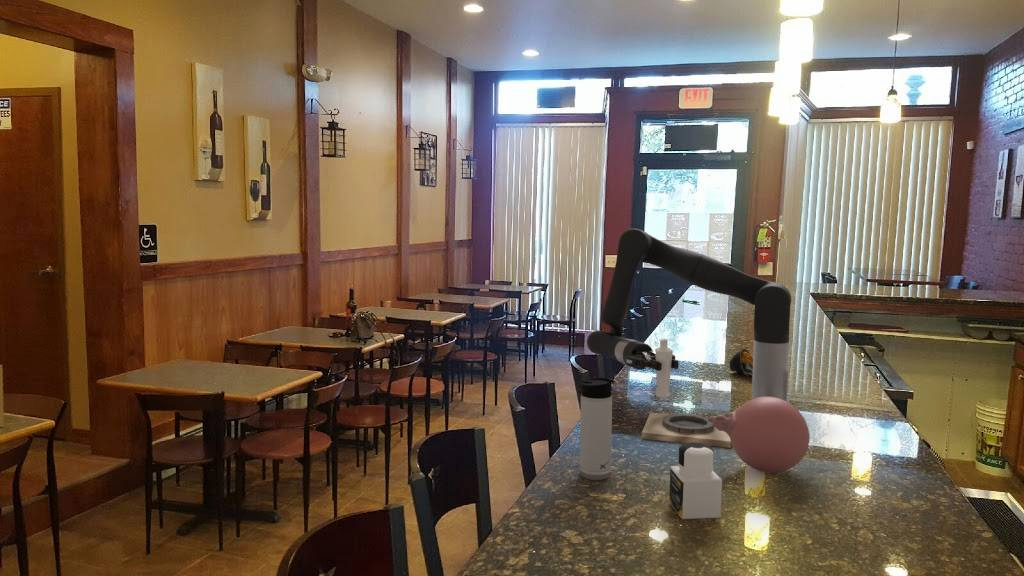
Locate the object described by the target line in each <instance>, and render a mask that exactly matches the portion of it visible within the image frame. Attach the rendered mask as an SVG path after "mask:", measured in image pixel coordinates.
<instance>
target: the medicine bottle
mask: <svg viewBox="0 0 1024 576" xmlns="http://www.w3.org/2000/svg"><path fill="white" fill-rule="evenodd" d="M714 458H715V450H714V449H713V448H712V446H709V445H705V444H702V443H696V442H691V443H682V444H681V445H680V446H679V448H678V463H677V465H671V466H670V467H669V469H670V470H669V471H670V472H669V473H670V474H669V502H668V503H669V504H670V505H671V507H672V508H673V509H674V510H675V512H676V513H677V514H678V517H680V519H681V520H698V519H699V520H700V519H703V520H704V519H720V518H721V517H722V516H721V515H722V492H723V491H722V490H723V489H722V488H723V487H722V486H723V480H722V478H721V477H720V476H719V475H718V474H717V473H716V472H715V471H714V465H715V464H714V463H715V459H714Z"/></svg>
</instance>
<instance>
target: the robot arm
mask: <svg viewBox="0 0 1024 576" xmlns="http://www.w3.org/2000/svg"><path fill="white" fill-rule="evenodd" d="M616 254H617V255H616V260H615V264H614V265H615V266H614V271H613V273H612V278H611V279H612V280H611V282H610V286H609V289H608V292H607V296H606V299H605V302H604V305H603V308H602V311H601V314H600V321H601V322H602V323H603V324H605V325H607V326H609V332H608V331H603V330H594V331H592V332H591V333H590V334H589V335H588V336H587V339H586V345H587V348H588V350H589V351H590V352H591V353H593V354H596V355H600V356H603V357H607V358H610V359H612V360H615V361H616V362H620V363H621V364H623V365H625V366H628V367H630V368H632V369H636V370H638V371H640V370H641V371H643V370H646V369H647V370H651V369H652V370H655V371H656V370H657V371H661V365H662V364H661V362H658V361H656V358H655V350H653V349H652V347H651V345H649V344H647V343H644V342H643V341H638V340H636V339H631V338H626V337H624V336H623V334H624V333H623V331H624V322H625V318H626V315H627V312H628V308H629V305H630V300H631V296H632V295H631V294H632V288H633V283H634V279H635V275H636V272H637V268H638V267H639V265H640V262H642V263H646V264H650V265H652V266H656V267H659V268H661V269H663V270H665V271H667V272H668V273H670V274H671V275H673V276H675V277H676V278H679V279H680V280H682V281H684V282H685V283H688V284H691V285H692V286H695V287H697V288H700V289H703V290H706V291H709V292H713V293H716V294H720V295H725V296H730V297H734V298H737V299H740V300H742V301H744V302H747V303H749V305H750V304H751V305H753V307H754V308H753V309H754V310H753V352H752V353H753V354H752V358H753V375H752V379H751V400H752V399H754V398H758V397H775V398H779V399H782V400H784V401H786V402H788V384H789V366H788V365H789V349H790V324H791V323H790V322H791V321H790V319H791V304H792V294H791V292H790V291H789V289H788V288H787V287H786V286H784V285H783V284H781V283H778V282H774V281H770V280H767V279H763V278H759V277H756V276H753V275H750V274H747V273H744V272H743V271H742V270H741V271H740V270H739V269H737V268H735V267H733V266H731V265H730V264H729V265H728V264H726V263H724V262H722V261H720V260H718V259H715V258H713V257H710V256H708V255H706V254H703V253H699V252H696V251H694V250H689V249H686V248H681V247H678V246H674V245H671V244H669V243H667V242H664V241H662V240H660V239H658V238H656V237H654V236H652V235H650V234H649V233H647V232H646V231H644V230H642V229H639V228H629V229H626V230H625V231H624V232H623V233H622V234H621V235H620V237H619V240H618V246H617V252H616ZM671 369H675V370H678V369H679V360H678V359H676V355H675V354H673V353H672V363H671Z"/></svg>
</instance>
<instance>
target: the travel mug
mask: <svg viewBox="0 0 1024 576" xmlns="http://www.w3.org/2000/svg"><path fill="white" fill-rule="evenodd" d="M613 384H615V379H614V378H612V377H593V378H588V379H585V380H583V382H581V386H580V387H581V388H580V389H581V391H580V419H579V420H580V423H579V424H580V426H579V427H580V428H579V429H580V430H579V431H580V433H579V435H580V436H579V475H580V476H581V477H582V478H584V479H587V480H589V481H603V480H606V479H608V478H609V477H610V476H611V474H612V473H611V472H612V471H611V470H612V469H611V467H612V463H611V462H612V422H613V421H612V420H613V392H612V391H613V387H612V385H613Z"/></svg>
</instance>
